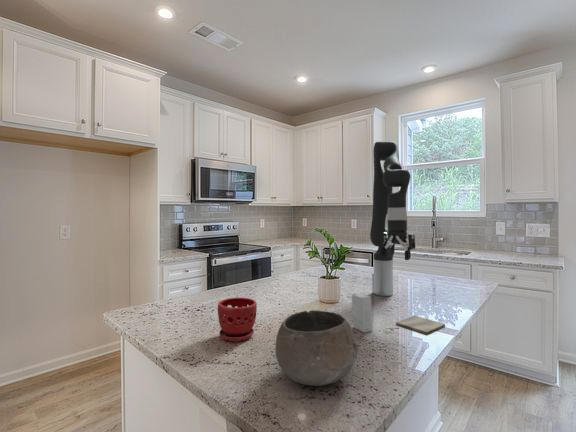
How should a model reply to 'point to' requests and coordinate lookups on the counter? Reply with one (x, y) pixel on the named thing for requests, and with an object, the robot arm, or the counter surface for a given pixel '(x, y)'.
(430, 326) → the walnut board
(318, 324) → the clay pot
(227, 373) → the counter surface
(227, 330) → the plant pot
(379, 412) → the counter surface
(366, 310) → the skincare box
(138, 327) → the counter surface
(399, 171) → the robot arm
